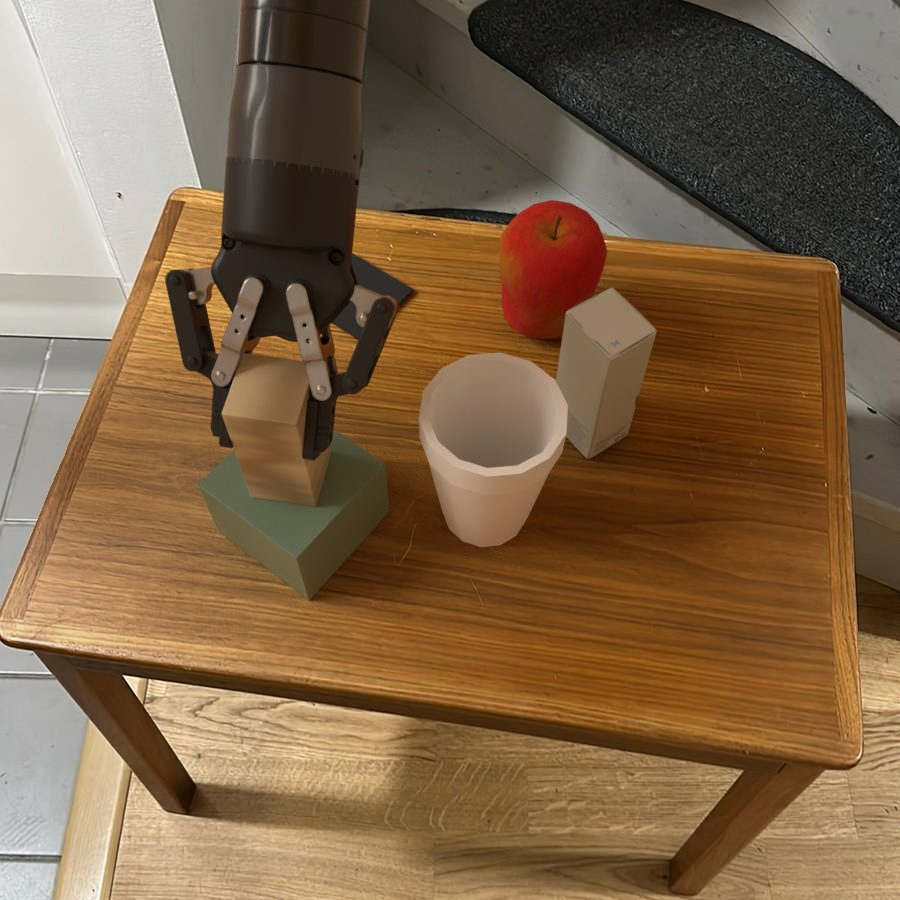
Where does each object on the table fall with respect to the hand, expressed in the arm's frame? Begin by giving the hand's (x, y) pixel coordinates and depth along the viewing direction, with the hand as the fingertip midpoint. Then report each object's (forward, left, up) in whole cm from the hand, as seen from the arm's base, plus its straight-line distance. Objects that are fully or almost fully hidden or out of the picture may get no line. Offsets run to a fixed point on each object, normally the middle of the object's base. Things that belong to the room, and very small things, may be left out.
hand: (271, 449), depth 56 cm
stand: (-1, +2, -13) cm, 13 cm away
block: (-1, +2, -6) cm, 6 cm away
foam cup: (+9, +11, -13) cm, 19 cm away
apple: (+2, +29, -13) cm, 32 cm away
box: (+11, +22, -13) cm, 28 cm away
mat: (-12, +21, -13) cm, 27 cm away
